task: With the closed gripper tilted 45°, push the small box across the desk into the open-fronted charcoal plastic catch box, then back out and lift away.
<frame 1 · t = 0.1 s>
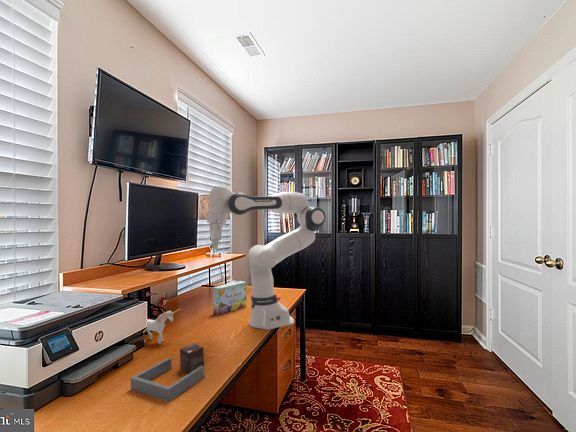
hand: (214, 248, 147), 39 cm above the table, tool pointing down, fingers open, 8 cm apart
unicorn figurine: (159, 339, 137), on the table
box: (192, 368, 110), on the table
snack box: (230, 310, 179), on the table
catch box: (170, 381, 101), on the table
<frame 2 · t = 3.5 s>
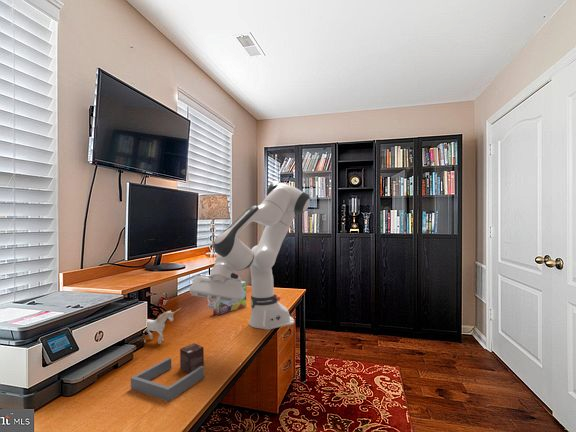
hand: (211, 307, 117), 19 cm above the table, tool tilted 45°, fingers closed
nothing on the table moved.
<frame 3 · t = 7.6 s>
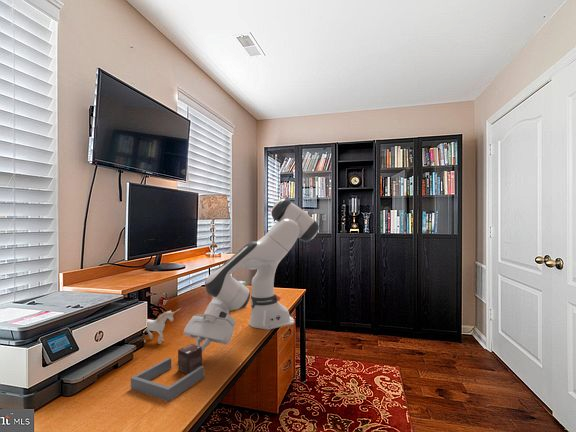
hand: (198, 351, 113), 5 cm above the table, tool tilted 45°, fingers closed
box: (190, 369, 109), on the table, touching gripper
everything else where it was.
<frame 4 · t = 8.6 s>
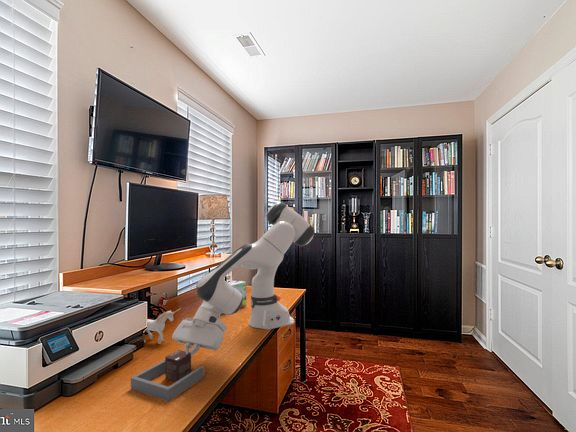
hand: (186, 357, 108), 5 cm above the table, tool tilted 45°, fingers closed, pressing on box
box: (178, 376, 105), on the table, touching gripper
everything else where it was.
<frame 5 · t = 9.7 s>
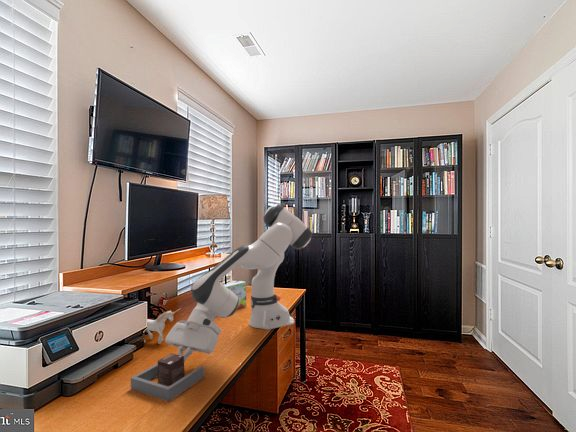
hand: (179, 361, 105), 5 cm above the table, tool tilted 45°, fingers closed, pressing on box
box: (171, 380, 102), on the table, touching gripper
everything else where it was.
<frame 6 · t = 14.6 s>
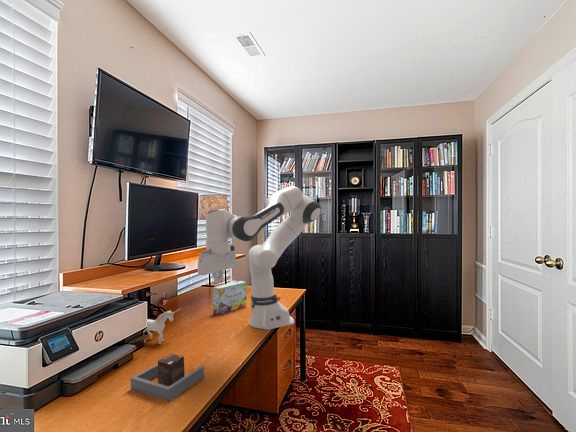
hand: (218, 282, 126), 27 cm above the table, tool pointing down, fingers closed
box: (171, 381, 102), on the table
everything else where it was.
at the end: box inside the target area on the catch box (1.6 cm from its centre), point 0.0 cm above the catch box's base; box tilted 0°; box moved 9.2 cm from its start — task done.
